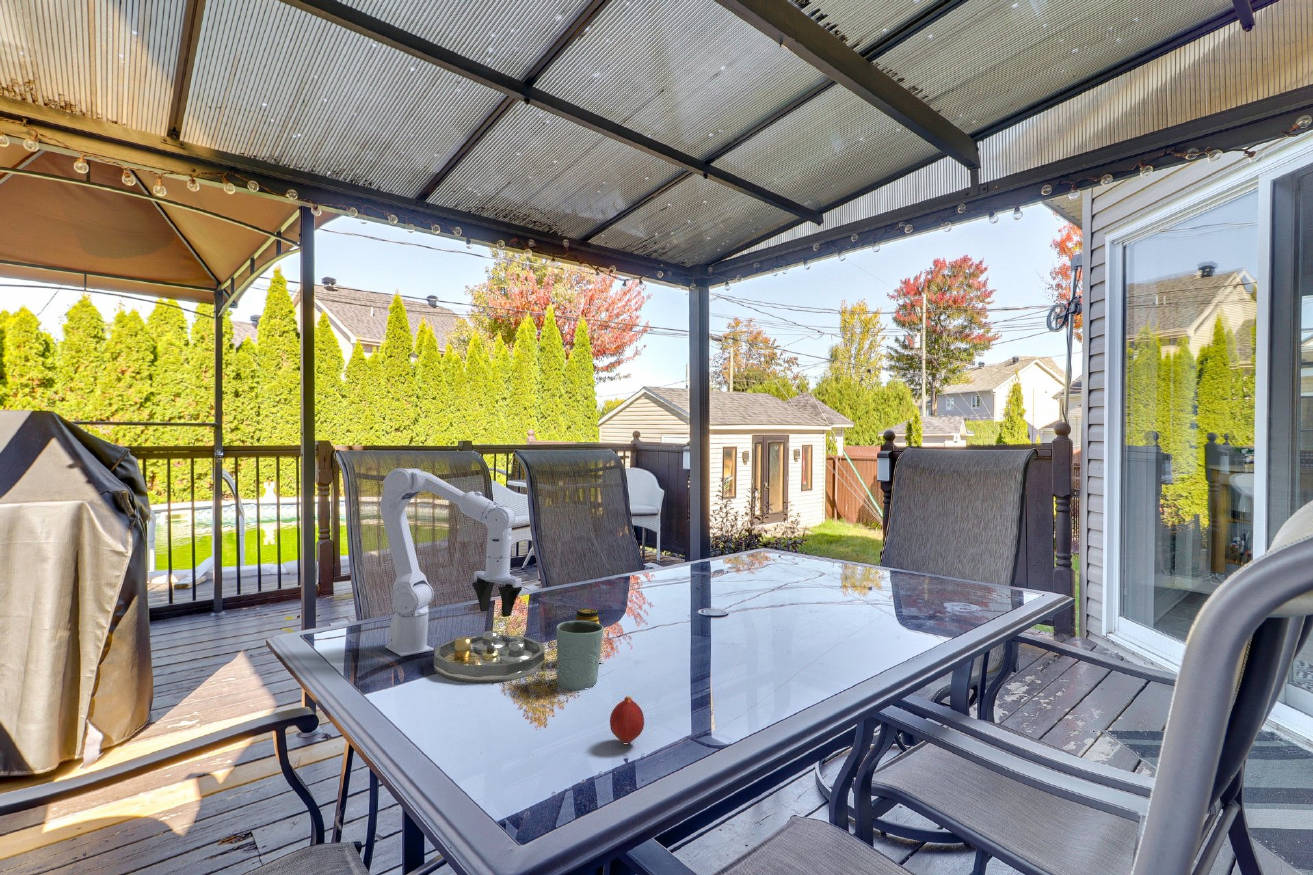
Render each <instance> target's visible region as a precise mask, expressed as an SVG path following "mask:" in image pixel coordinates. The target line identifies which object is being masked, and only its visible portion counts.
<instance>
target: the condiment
mask: <svg viewBox="0 0 1313 875" xmlns="http://www.w3.org/2000/svg"><path fill="white" fill-rule="evenodd" d="M575 621H590V622H595V623H599V624H600V621H599V611H598V610H597V609H595V608H586V607H585V608H580V609H577V611H576V616H575Z"/></svg>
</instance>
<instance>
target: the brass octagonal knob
mask: <svg viewBox="0 0 1313 875" xmlns="http://www.w3.org/2000/svg"><path fill="white" fill-rule="evenodd" d="M470 637H471V636H459V637H456V638H454V639H455V650H454V654H449V655H448V656H446V657H445V658H446V659H448V660H450V661H452V662H459V663H466V664H474V665H478V664H479V663H480V656H479V655H477V654H475V653H470V650H471V638H470Z"/></svg>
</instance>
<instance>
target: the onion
mask: <svg viewBox="0 0 1313 875" xmlns="http://www.w3.org/2000/svg"><path fill="white" fill-rule="evenodd" d="M609 726H610V731H611V733H612V734H613V735H614V736H615V737H616V738H617V739H618V740H620V742H621V743H622V742H623V743H629V744H630V743H632V742H633V741H635V739H637V738H638V737H639V736H640V735H641V733H642V732H643V730H644V726H645V716H644V712H643V710H642V708H641V707H640V706H639V704H637V702H635V701H634V700H633V699H632V697H631V696H630V695H627V696H625V697H624V700H622V701H620V702H619V703H617V704H616V706H615V707H614V708H613V709H612V711H611V713H610V718H609ZM623 743H622V744H623Z"/></svg>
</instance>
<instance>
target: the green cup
mask: <svg viewBox="0 0 1313 875" xmlns="http://www.w3.org/2000/svg"><path fill="white" fill-rule="evenodd" d="M555 627H556V656H557V657H556V667H557V668H556V672H557V674H556V684H557V686H558V687H560V688H562V689H566V690H569V691H570V690H572V691H583V690H586V689H585V688H589V689H591V688H590V687H592V686H594V685H595V684H596V683H597V682H598V675H599V674H598V673H599V669H600V668H599V667H600V664H599V660H600V658H601V652H602V642H603V634H604V626H603V625H602V623H601V624H600V622H599V623H595V622H590V621H576V620H569V621H563V622H560V623H559V624H557V626H555ZM597 684H598V683H597ZM597 684H596V685H597ZM596 685H595V686H596ZM595 686H594V687H595ZM592 688H593V687H592ZM582 689H583V690H582Z"/></svg>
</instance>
